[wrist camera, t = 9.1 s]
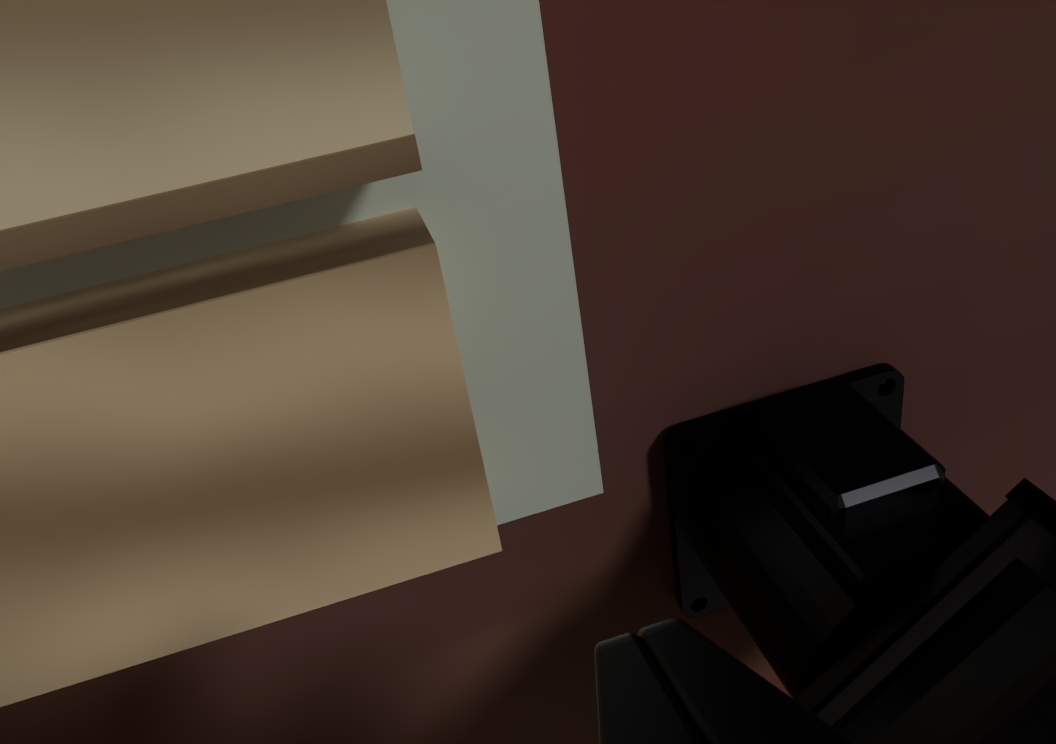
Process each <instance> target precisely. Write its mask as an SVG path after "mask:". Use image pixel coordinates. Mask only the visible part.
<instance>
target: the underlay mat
mask: <svg viewBox="0 0 1056 744" xmlns="http://www.w3.org/2000/svg"><path fill="white" fill-rule="evenodd" d="M386 3H387V7H388V12H389V17H390V22H391V26H392V31H393V36H394V41H395V45H396V50H397V55H398V60H399V64H400V69H401V74H402V79H403V83H404V88H405V93H406V98H407V102H408V107H409V112H410V117H411V121H412V126H413V131H414V135H415V138H416V142H417V147H418V152H419V157H420V161H421V166H422V170H421V171H417V172H413V173H409V174H405V175H401V176H396V177H392V178H388V179H384V180H380V181H375V182H371V183H367V184H363V185H359V186H355V187H350V188H346V189H342V190H338V191H334V192H329V193H325V194H321V195H317V196H313V197H309V198H304V199H300V200H296V201H292V202H288V203H283V204H279V205H275V206H271V207H267V208H263V209H258V210H254V211H250V212H246V213H242V214H237V215H233V216H229V217H225V218H221V219H217V220H212V221H208V222H204V223H200V224H196V225H191V226H187V227H183V228H179V229H175V230H171V231H166V232H162V233H158V234H154V235H150V236H145V237H141V238H137V239H133V240H129V241H125V242H120V243H116V244H112V245H108V246H104V247H99V248H95V249H91V250H87V251H83V252H79V253H74V254H70V255H66V256H62V257H58V258H53V259H49V260H45V261H41V262H37V263H33V264H28V265H24V266H20V267H16V268H12V269H7V270H3V271H0V309H3V308H7V307H11V306H15V305H19V304H23V303H27V302H31V301H35V300H39V299H43V298H47V297H51V296H56V295H60V294H64V293H68V292H72V291H76V290H80V289H84V288H88V287H92V286H96V285H100V284H104V283H108V282H113V281H117V280H121V279H125V278H129V277H133V276H137V275H141V274H145V273H149V272H153V271H157V270H161V269H166V268H170V267H174V266H178V265H182V264H186V263H190V262H194V261H198V260H202V259H206V258H210V257H214V256H218V255H223V254H227V253H231V252H235V251H239V250H243V249H247V248H251V247H255V246H259V245H263V244H267V243H271V242H276V241H280V240H284V239H288V238H292V237H296V236H300V235H304V234H308V233H312V232H316V231H320V230H324V229H329V228H333V227H337V226H341V225H345V224H349V223H353V222H357V221H361V220H365V219H369V218H373V217H377V216H381V215H386V214H390V213H394V212H398V211H402V210H406V209H410V208H414V207H416V208H417V210H418V212H419V214H420V216H421V217H422V219H423V221H424V223H425V225H426V227H427V229H428V231H429V233H430V234H431V236H432V238H433V240H434V242H435V244H436V247H437V252H438V257H439V261H440V266H441V271H442V275H443V280H444V284H445V289H446V294H447V298H448V303H449V307H450V312H451V317H452V321H453V326H454V330H455V335H456V340H457V344H458V349H459V354H460V358H461V363H462V367H463V372H464V377H465V381H466V386H467V390H468V395H469V400H470V404H471V409H472V413H473V418H474V423H475V427H476V432H477V437H478V441H479V446H480V450H481V455H482V460H483V464H484V469H485V473H486V478H487V483H488V487H489V492H490V497H491V501H492V506H493V510H494V515H495V520H496V524H497V525H500V524H503V523H506V522H509V521H513V520H516V519H519V518H522V517H526V516H529V515H532V514H535V513H539V512H542V511H545V510H548V509H552V508H555V507H558V506H561V505H565V504H568V503H571V502H574V501H578V500H581V499H584V498H587V497H591V496H594V495H597V494H600V493H603V485H602V477H601V470H600V462H599V455H598V447H597V439H596V432H595V424H594V417H593V409H592V402H591V394H590V386H589V379H588V371H587V364H586V356H585V348H584V341H583V333H582V326H581V318H580V311H579V303H578V295H577V288H576V280H575V273H574V265H573V257H572V250H571V242H570V235H569V227H568V220H567V212H566V204H565V197H564V189H563V182H562V174H561V166H560V159H559V151H558V144H557V136H556V129H555V121H554V113H553V106H552V98H551V91H550V83H549V75H548V68H547V60H546V53H545V45H544V37H543V30H542V22H541V15H540V7H539V0H386Z"/></svg>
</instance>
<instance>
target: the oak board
mask: <svg viewBox="0 0 1056 744" xmlns="http://www.w3.org/2000/svg"><path fill="white" fill-rule="evenodd" d="M499 551H502V547H501V543H500V538H499V533H498V529H497V524H496V520H495V515H494V510H493V506H492V501H491V497H490V492H489V487H488V483H487V478H486V473H485V469H484V464H483V460H482V455H481V450H480V446H479V441H478V437H477V432H476V427H475V423H474V418H473V413H472V409H471V404H470V400H469V395H468V390H467V386H466V381H465V377H464V372H463V367H462V363H461V358H460V354H459V349H458V344H457V340H456V335H455V330H454V326H453V321H452V317H451V312H450V307H449V303H448V298H447V294H446V289H445V284H444V280H443V275H442V271H441V266H440V261H439V257H438V252H437V247H436V244H435V242H434V240H433V238H432V236H431V234H430V233H429V231H428V229H427V227H426V225H425V223H424V221H423V219H422V217H421V216H420V214H419V212H418V210H417V208H416V207H414V208H410V209H406V210H402V211H398V212H394V213H390V214H386V215H381V216H377V217H373V218H369V219H365V220H361V221H357V222H353V223H349V224H345V225H341V226H337V227H333V228H329V229H324V230H320V231H316V232H312V233H308V234H304V235H300V236H296V237H292V238H288V239H284V240H280V241H276V242H271V243H267V244H263V245H259V246H255V247H251V248H247V249H243V250H239V251H235V252H231V253H227V254H223V255H218V256H214V257H210V258H206V259H202V260H198V261H194V262H190V263H186V264H182V265H178V266H174V267H170V268H166V269H161V270H157V271H153V272H149V273H145V274H141V275H137V276H133V277H129V278H125V279H121V280H117V281H113V282H108V283H104V284H100V285H96V286H92V287H88V288H84V289H80V290H76V291H72V292H68V293H64V294H60V295H56V296H51V297H47V298H43V299H39V300H35V301H31V302H27V303H23V304H19V305H15V306H11V307H7V308H3V309H0V707H3V706H6V705H9V704H12V703H15V702H19V701H22V700H25V699H28V698H31V697H35V696H38V695H41V694H44V693H47V692H51V691H54V690H57V689H60V688H63V687H67V686H70V685H73V684H76V683H79V682H83V681H86V680H89V679H92V678H96V677H99V676H102V675H105V674H108V673H112V672H115V671H118V670H121V669H124V668H128V667H131V666H134V665H137V664H140V663H144V662H147V661H150V660H153V659H156V658H160V657H163V656H166V655H169V654H172V653H176V652H179V651H182V650H185V649H188V648H192V647H195V646H198V645H201V644H205V643H208V642H211V641H214V640H217V639H221V638H224V637H227V636H230V635H233V634H237V633H240V632H243V631H246V630H249V629H253V628H256V627H259V626H262V625H265V624H269V623H272V622H275V621H278V620H281V619H285V618H288V617H291V616H294V615H297V614H301V613H304V612H307V611H310V610H313V609H317V608H320V607H323V606H326V605H330V604H333V603H336V602H339V601H342V600H346V599H349V598H352V597H355V596H358V595H362V594H365V593H368V592H371V591H374V590H378V589H381V588H384V587H387V586H390V585H394V584H397V583H400V582H403V581H406V580H410V579H413V578H416V577H419V576H422V575H426V574H429V573H432V572H435V571H439V570H442V569H445V568H448V567H451V566H455V565H458V564H461V563H464V562H467V561H471V560H474V559H477V558H480V557H483V556H487V555H490V554H493V553H496V552H499Z"/></svg>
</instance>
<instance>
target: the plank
mask: <svg viewBox="0 0 1056 744" xmlns="http://www.w3.org/2000/svg"><path fill="white" fill-rule="evenodd" d="M421 170H422V166H421V161H420V157H419V152H418V147H417V142H416V138H415V135H414V131H413V126H412V121H411V117H410V112H409V107H408V102H407V98H406V93H405V88H404V83H403V79H402V74H401V69H400V64H399V60H398V55H397V50H396V45H395V41H394V36H393V31H392V26H391V22H390V17H389V12H388V7H387V3H386V0H0V271H3V270H7V269H12V268H16V267H20V266H24V265H28V264H33V263H37V262H41V261H45V260H49V259H53V258H58V257H62V256H66V255H70V254H74V253H79V252H83V251H87V250H91V249H95V248H99V247H104V246H108V245H112V244H116V243H120V242H125V241H129V240H133V239H137V238H141V237H145V236H150V235H154V234H158V233H162V232H166V231H171V230H175V229H179V228H183V227H187V226H191V225H196V224H200V223H204V222H208V221H212V220H217V219H221V218H225V217H229V216H233V215H237V214H242V213H246V212H250V211H254V210H258V209H263V208H267V207H271V206H275V205H279V204H283V203H288V202H292V201H296V200H300V199H304V198H309V197H313V196H317V195H321V194H325V193H329V192H334V191H338V190H342V189H346V188H350V187H355V186H359V185H363V184H367V183H371V182H375V181H380V180H384V179H388V178H392V177H396V176H401V175H405V174H409V173H413V172H417V171H421Z"/></svg>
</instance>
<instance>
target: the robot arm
mask: <svg viewBox="0 0 1056 744" xmlns="http://www.w3.org/2000/svg"><path fill="white" fill-rule="evenodd" d="M885 380H886V381H885ZM883 381H885V383H884V384H883V385H882V386H880V385H881V383H882V382H883ZM879 386H880V387H879ZM903 392H904V376H903V375H902V374H901V373H900V372H899V371H898V370H897V369H895V368H894V367H893V366H892V365H890V364H887V363H881V364H876V365H873V366H870V367H866V368H863V369H860V370H856V371H853V372H850V373H846V374H843V375H840V376H836V377H833V378H830V379H826V380H823V381H819V382H816V383H813V384H809V385H806V386H803V387H799V388H796V389H793V390H789V391H786V392H783V393H779V394H776V395H773V396H769V397H766V398H762V399H759V400H756V401H752V402H749V403H746V404H742V405H739V406H736V407H732V408H729V409H726V410H722V411H719V412H716V413H712V414H709V415H705V416H702V417H699V418H695V419H692V420H689V421H685V422H682V423H680V424H677V425H675V426H674V427H672V428H671V429H670V430H669V431H668V433H667V434H666V436H665V438H664V456H665V468H666V480H667V492H668V503H669V515H670V527H671V539H672V551H673V563H674V575H675V587H676V599H677V603H678V605H679V607H680V608H681V610H682V612H683V613H684V615H686V616H687V617H689V618H698V617H702V616H705V615H708V614H711V613H714V612H717V611H720V610H723V609H726V608H728V607H732V608H733V610H734V611H735V613H736V614H737V616H738V617H739V619H740V620H741V622H742V623H743V625H744V626H745V628H746V629H747V631H748V632H749V634H750V635H751V637H752V638H753V640H754V641H755V643H756V644H757V646H758V647H759V649H760V650H761V652H762V654H763V655H764V657H765V658H766V660H767V661H768V663H769V664H770V666H771V667H772V669H773V670H774V672H775V673H776V675H777V676H778V678H779V679H780V681H781V682H782V684H783V685H784V687H785V688H786V690H787V691H788V693H789V694H790V696H791V697H792V698H791V697H790V696H788V695H787V694H785V693H784V692H782V691H781V690H780V689H778V688H777V687H775V686H774V685H773V684H771V683H770V682H768V681H767V680H766V679H764V678H763V677H761V676H760V675H759V674H757V673H756V672H754V671H753V670H752V669H750V668H749V667H747V666H746V665H745V664H743V663H742V662H740V661H739V660H738V659H736V658H735V657H733V656H732V655H731V654H729V653H728V652H726V651H725V650H723V649H722V648H721V647H719V646H718V645H716V644H715V643H714V642H712V641H711V640H709V639H708V638H707V637H705V636H704V635H702V634H701V633H700V632H698V631H697V630H695V629H694V628H693V627H691V626H690V625H688V624H687V623H686V622H684V621H682V620H680V619H676V618H671V619H667V620H664V621H661V622H658V623H655V624H652V625H649V626H646V627H643V628H641V629H640V630H639V631H638V632H637V636H636V635H635V634H634V633H625V634H622V635H619V636H616V637H613V638H610V639H607V640H604V641H601V642H599V643H597V644H596V645H595V648H594V665H595V684H596V704H597V723H598V743H599V744H1056V501H1055V500H1054V499H1052V498H1051V497H1050V496H1048V495H1047V494H1046V493H1044V492H1043V491H1042V490H1040V489H1039V488H1038V487H1036V486H1035V485H1034V484H1032V483H1031V482H1030V481H1028V480H1027V479H1025V478H1024V479H1023V480H1022V481H1021V482H1019V483H1018V484H1017V485H1016V486H1015V487H1014V488H1013V489H1012V490H1011V491H1010V492H1009V493H1008V494H1007V495H1005V497H1006V498H1007V499H1008V500H1007V501H1006V502H1005V503H1004V504H1003V505H1002V506H1001V507H999V508H998V509H997V510H996V511H995V512H994V513H993V514H992V515H991V516H989V515H988V514H987V513H986V512H985V511H983V510H982V509H981V508H980V507H979V506H978V505H977V504H976V503H974V502H973V501H972V500H971V499H970V498H969V497H968V496H966V495H965V494H964V493H963V492H962V491H961V490H960V489H959V488H957V487H956V486H955V485H954V484H953V483H952V482H951V481H950V480H948V479H947V478H946V477H945V468H944V467H943V465H942V464H941V463H940V462H938V461H937V460H936V459H935V458H934V457H933V456H931V455H930V454H929V453H928V452H927V451H926V450H925V449H923V448H922V447H921V446H920V445H919V444H918V443H917V442H915V441H914V440H913V439H912V438H911V437H910V436H909V435H907V434H906V433H905V432H904V431H903V430H902V429H900V427H901V415H902V404H903ZM688 439H691V441H690V442H689V443H688V444H687V445H686V446H684V447H680V446H681V444H682V443H683V442H684V441H686V440H688ZM696 599H697V600H696ZM694 600H695V601H694Z"/></svg>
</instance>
